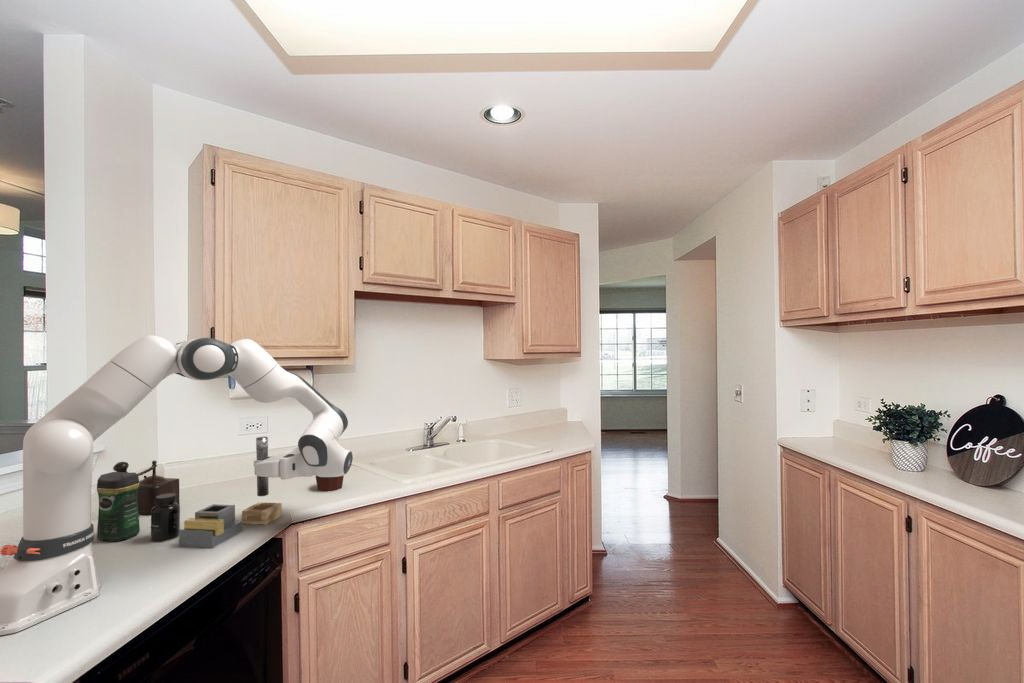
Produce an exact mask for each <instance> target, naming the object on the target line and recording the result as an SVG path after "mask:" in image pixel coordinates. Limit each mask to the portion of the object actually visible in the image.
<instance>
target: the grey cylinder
mask: <svg viewBox="0 0 1024 683" xmlns="http://www.w3.org/2000/svg"><path fill="white" fill-rule="evenodd" d="M255 445H256V446H255V448H256V453H255V454H256V460H262V461H263V460H265V459H268V456H269V438H268V436H257V437H256V439H255ZM269 488H270V487H269V477H260V476H256V492H257V493H256V495H257V497H266V496H268V495H269V494H270V492H269V491H270V490H269Z"/></svg>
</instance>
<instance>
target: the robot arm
mask: <svg viewBox="0 0 1024 683" xmlns="http://www.w3.org/2000/svg"><path fill="white" fill-rule="evenodd" d="M174 374H176V375H179V376H181V377H185V378H187V379H190V380H192V381H193V380H194V381H211V380H214V379H217V378H220V377H223V376H225V375H228V376H229V377H231V378H232V379H234V380H235V381H236V383H237V384H238V385H239V386H240V387H241V388H242V389H243V390H244V392H245V393H246V394H247V395H248V396H249V397H250V398H252V399H253V400H255V401H256V402H257V403H258V402H259V403H265V404H266V403H267V404H268V403H274V402H279V401H280V400H283V399H285V398H293V399H295V400H296V401H298V403H299V404H301V405H302V406H303V407H304V408H306V409H307V411H309V412H310V413H311V414H312V420H311V422H310V424H309V425H308V426H307V427H306V429H305V430H304V432H303V433H302V434H301V435H300V437H299V439H298V442H297V447H295V448H293V449H289V450H287V451H283V452H281V453H278V454H276V455H268V459H265V460H263V461H262V460H257V459H255V460H254V461H253V467H254V468H253V469H254V471H253V472H254V475H255V476H256V477H257V476H260V477H268V478H280V479H281V480H290V479H294V478H301V477H302V478H303V477H304V478H311V477H314V476H315V477H316V476H319V477H339V476H343V475H344V476H345V475H346V474H348V472H349V471H350V469H351V466H352V464H353V458H354V457H353V451H351V450H349V449H345V448H344V447H342V446H341V445H340V444H339V443H338V440H339V439H340V437H341V436H342V435H343V434H344V432H345V431H346V429H347V428H348V426H349V420H348V417H347V415H346V413H345V412H344V411H343V410H342V409H340V408H339V407H338V406H336V405H334V404H333V403H331V402H330V401H329V400H328V399H327V398H326V397H324V396H323V395H322V394H321V393H320V392H318V390H316V388H315V387H314V386H312V385H311V384H310V383H309V382H308V381H307V380H305V378H303V377H302V376H300V375H299V374H297V373H294V372H289V371H287V370H285V369H284V368H283V367H282V366H281V365H280V364H279V363H278V362H277V360H276V359H274V357H273V356H272V355H271V354H269V353H268V351H266V349H265V348H263V347H262V346H261V345H260V344H258V343H257V342H256V341H254V340H252V339H249V338H242V339H238V340H235V341H233V342H232V343H230V344H229V343H227V342H224V341H221V340H219V339H216V338H212V337H211V338H210V337H194V338H191V339H188V340H185V341H180V342H177V343H175V344H174V343H173V342H171V341H169V340H168V339H167V338H164V337H162V336H159V335H154V334H153V335H152V334H148V335H144V336H142V337H140V338H139V339H137V340H135V341H133V342H132V343H130V344H129V345H127V346H126V347H125V348H124V349H122V350H120V352H118V353H117V354H115V355H114V356H113V357H112V358H111V359H110V360H109V361H107V362H106V363H105V364H104V365H103V366H102V367H100V368H99V369H98V370H97V371H96V372H95V373H94V374H93V375H92V376H90V377H89V378H88V379H87V380H86V381H85V382H84V383H83V384H81V385H80V386H79V387H77V388H76V390H74V391H73V392H72V393H71V394H69V395H68V396H67V397H65V398H64V399H63V400H61V401H60V402H59V403H58V404H57V405H55V406H54V407H53V408H52V409H51V410H49V411H48V412H47V413H46V414H44V415H43V416H42V417H41V418H40V419H38V420H37V421H36V422H35V423H34V424H32V425H31V426H30V427H29V428H28V429H27V430H26V433H25V434H24V436H23V441H22V510H23V511H22V522H23V523H22V527H23V528H22V536H21V538H20V540H19V542H18V545H14V544H13V545H11V544H5V545H3V546H2V547H1V548H0V555H1V556H9V557H10V556H13V559H12V560H11V561H10V562H9V563H8V564H7V565H6V566H5V567H4V568H3V569H2V570H1V571H0V636H4V635H10V634H15V633H18V632H20V631H23V630H25V629H27V628H30V627H32V626H34V625H36V624H39V623H41V622H43V621H45V620H47V619H50V618H52V617H55V616H57V615H60V614H61V613H64V612H66V611H68V610H70V609H72V608H75V607H77V606H79V605H82V604H84V603H86V602H88V601H91V600H93V599H95V598H97V597H99V596H100V588H101V585H102V582H101V580H100V577H99V575H98V571H97V567H96V564H95V562H96V561H95V557H94V552H93V542H94V540H95V530H94V528H95V527H94V523H92V481H93V470H94V469H93V468H94V467H93V466H94V465H93V464H94V463H93V462H94V442H95V441H96V440H97V439H98V438H99V437H101V436H103V434H104V433H106V432H107V431H108V430H109V429H110V428H111V427H112V426H114V425H115V424H117V423H118V422H119V421H120V420H122V419H124V418H125V417H127V415H128V414H130V413H131V412H132V410H134V408H136V407H137V406H138V404H140V403H141V402H142V401H143V400H144V399H145V398H146V397H147V396H148V395H150V394H151V392H152V391H153V390H154V389H155V388H156V387H157V386H158V385H159V384H160V383H161V382H162V381H164V379H166V378H168V377H169V376H172V375H174Z"/></svg>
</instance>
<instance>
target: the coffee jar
mask: <svg viewBox="0 0 1024 683" xmlns="http://www.w3.org/2000/svg"><path fill="white" fill-rule="evenodd" d="M139 478H140V477H139V476H138V473H136V472H128V471H127V472H116V471H112V472H108V473H103V474H101V475H100V476H99V477H98V478H97V483H96V492H97V495H98V496H97V497H98V513H97V514H98V515H97V516H98V519H97V528H96V537H97V539H98V540H99V541H103V542H105V541H107V542H118V541H121V540H126V539H131V538H133V537H134V536H136V535H138V534H139V532H141V531H140V527H141V526H140V517H139V516H140V515H139V514H138V499H137V493H138V487H139V481H140V479H139Z"/></svg>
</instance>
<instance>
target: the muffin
mask: <svg viewBox="0 0 1024 683" xmlns="http://www.w3.org/2000/svg"><path fill="white" fill-rule="evenodd" d="M344 476H345V475H343V476H339V477H319V476H315V480H316V486H317V491H319V490H320V492H328V491H329V492H333V491H338V490H341V489H342V488H343V482H344Z"/></svg>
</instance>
